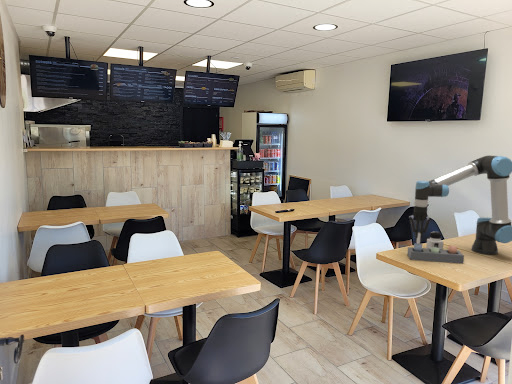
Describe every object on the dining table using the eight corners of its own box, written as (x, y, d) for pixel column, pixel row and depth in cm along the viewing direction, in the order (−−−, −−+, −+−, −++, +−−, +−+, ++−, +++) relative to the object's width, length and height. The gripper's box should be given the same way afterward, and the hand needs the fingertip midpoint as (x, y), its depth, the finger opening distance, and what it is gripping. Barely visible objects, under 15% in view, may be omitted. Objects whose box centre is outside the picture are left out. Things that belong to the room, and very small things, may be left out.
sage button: (437, 255, 239) (438, 247, 238) (439, 257, 234) (440, 249, 233) (429, 254, 240) (430, 246, 239) (431, 256, 235) (431, 248, 234)
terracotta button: (455, 253, 236) (455, 245, 235) (457, 255, 232) (458, 247, 231) (446, 252, 237) (447, 245, 237) (449, 255, 233) (449, 247, 232)
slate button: (421, 251, 240) (421, 243, 240) (422, 253, 236) (423, 245, 235) (412, 250, 241) (413, 242, 241) (414, 252, 237) (414, 245, 236)
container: (442, 253, 250) (444, 233, 248) (431, 253, 250) (432, 233, 248) (437, 249, 257) (439, 231, 256) (426, 249, 257) (427, 230, 256)
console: (457, 258, 239) (458, 250, 238) (463, 263, 228) (464, 255, 228) (407, 254, 246) (407, 247, 245) (410, 259, 235) (410, 252, 234)
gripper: (430, 205, 237) (427, 242, 240) (408, 204, 240) (406, 240, 243) (433, 207, 230) (430, 245, 233) (410, 206, 232) (408, 243, 236)
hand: (418, 243), depth 238 cm, fingers closed
